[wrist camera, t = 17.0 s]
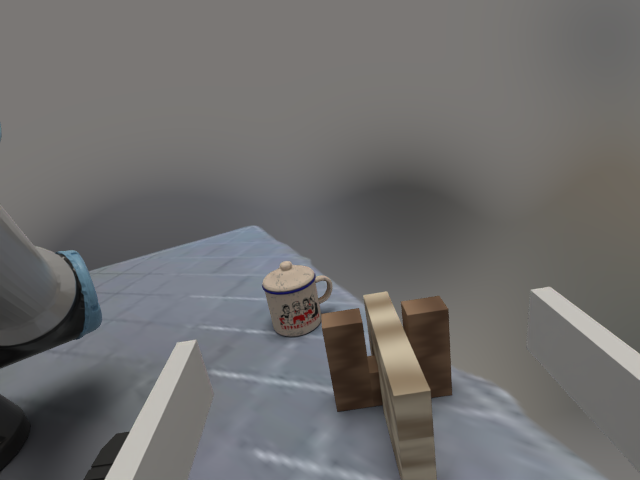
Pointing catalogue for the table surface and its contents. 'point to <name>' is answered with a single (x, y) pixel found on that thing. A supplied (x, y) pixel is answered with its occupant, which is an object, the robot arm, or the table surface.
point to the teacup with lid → (294, 298)
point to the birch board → (401, 391)
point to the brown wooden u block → (361, 370)
